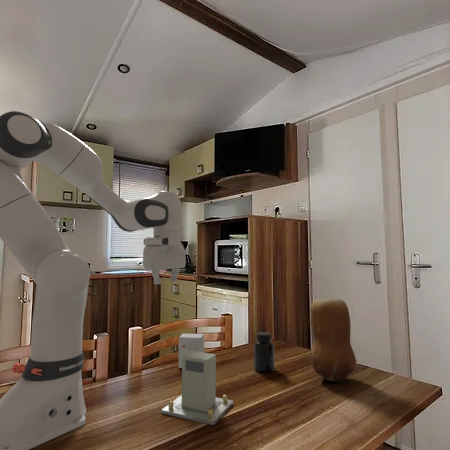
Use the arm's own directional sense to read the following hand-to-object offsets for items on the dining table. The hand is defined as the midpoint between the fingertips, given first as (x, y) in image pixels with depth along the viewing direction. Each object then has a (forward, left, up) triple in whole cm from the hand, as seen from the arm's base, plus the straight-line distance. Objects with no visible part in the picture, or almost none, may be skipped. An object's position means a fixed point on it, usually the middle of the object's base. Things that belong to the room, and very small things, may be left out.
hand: (165, 282), depth 109 cm
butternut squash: (+18, -50, -29) cm, 61 cm away
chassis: (-16, -21, -29) cm, 39 cm away
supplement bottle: (+18, -28, -29) cm, 44 cm away
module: (-16, -21, -28) cm, 39 cm away
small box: (+11, -4, -29) cm, 32 cm away
